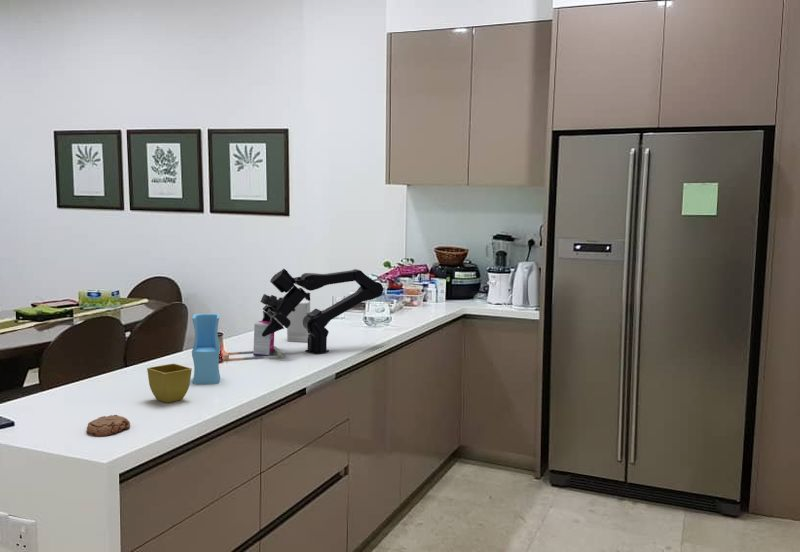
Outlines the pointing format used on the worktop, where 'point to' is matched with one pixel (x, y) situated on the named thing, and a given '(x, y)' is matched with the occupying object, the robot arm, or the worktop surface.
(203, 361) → the light blue tall piece
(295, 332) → the skincare box
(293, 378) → the worktop surface
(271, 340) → the supplement box
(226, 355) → the breaker track
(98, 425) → the cookie
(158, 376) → the flower pot
